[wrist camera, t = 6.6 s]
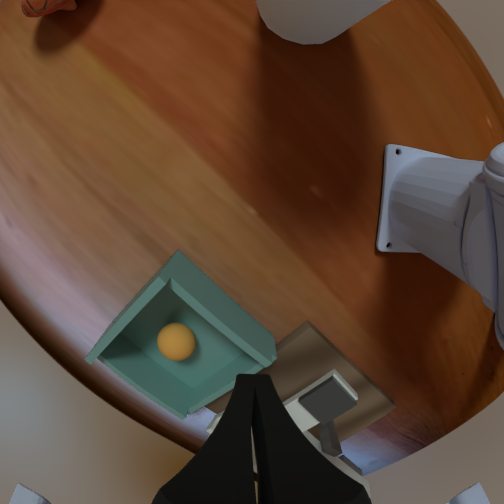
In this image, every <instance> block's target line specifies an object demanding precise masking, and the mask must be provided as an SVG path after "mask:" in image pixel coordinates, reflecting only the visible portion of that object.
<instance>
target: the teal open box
mask: <svg viewBox="0 0 504 504" xmlns="http://www.w3.org/2000/svg"><path fill="white" fill-rule="evenodd" d="M170 323H181V324H184V325H186V326H187V327H189V328H190V329H191V330H192V332H193V333H194V336H195V339H196V346H195V349H194V351H193V353H192V354H191V356H189V357H188V358H187V359H185V360H181V361H173V360H170V359H168V358H166V357H165V356H164V355H163V354H162V353H161V352H160V350H159V348H158V344H157V338H158V334H159V332H160V330H161V329H162V328H163V327H164V326H166V325H167V324H170ZM96 358H98V359H99V360H100V361H101V362H102V363H103V364H105V365H106V366H107V367H108V368H110V369H111V370H112V371H113V372H115V373H116V374H117V375H118V376H120V377H121V378H122V379H123V380H125V381H126V382H127V383H129V384H130V385H131V386H133V387H134V388H135V389H137V390H138V391H140V392H141V393H142V394H144V395H145V396H147V397H148V398H150V399H151V400H152V401H154V402H155V403H157V404H158V405H160V406H161V407H163V408H164V409H166V410H168V411H169V412H171V413H172V414H174V415H175V416H177V417H179V418H180V419H184V418H186V416H187V414H189V415H190V414H191V413H193V412H195V411H197V410H198V409H200V408H202V407H203V406H205V405H207V404H208V403H210V402H212V401H213V400H215V399H217V398H218V397H220V396H222V395H223V394H225V393H226V392H228V391H230V390H231V389H233V388H234V385H235V381H236V375H238V374H256V373H257V372H259V371H260V370H262V369H263V368H264V367H268V366H269V365H271V364H272V362H273V361H275V360H276V359H277V355H276V348H275V340H274V335H273V334H271V333H270V332H269V331H268V330H267V329H266V328H264V327H263V326H262V325H261V324H260V323H259V322H258V321H256V320H255V319H254V318H253V317H252V316H251V315H250V314H248V313H247V312H246V311H245V310H244V309H243V308H242V307H241V306H239V305H238V304H237V303H236V302H235V301H234V300H233V299H232V298H230V297H229V296H228V295H227V294H226V293H225V292H224V291H223V290H222V289H221V288H219V287H218V286H217V285H216V284H215V283H214V282H213V281H212V280H211V279H210V278H209V277H208V276H206V275H205V274H204V273H203V272H202V271H201V270H200V269H199V268H198V267H197V266H196V265H195V264H194V263H193V262H191V261H190V260H189V259H188V258H187V257H186V256H185V255H184V254H183V253H182V252H181V251H180V250H179V249H178V250H177V251H176V252H175V253H174V254H173V256H172V257H171V258H170V259H169V260H168V261H167V262H166V263H165V264H164V265H163V266H162V267H161V268H160V269H159V270H158V271H157V273H156V274H155V275H154V276H153V277H152V278H151V279H150V280H149V281H148V282H147V283H146V284H145V286H144V287H143V288H142V289H141V290H140V291H139V292H138V293H137V294H136V295H135V297H134V298H133V299H132V300H131V301H130V302H129V303H128V304H127V306H126V307H125V308H124V309H123V310H122V311H121V312H120V313H119V315H118V316H117V317H116V318H115V319H114V320H113V321H112V323H111V324H110V325H109V326H108V328H107V329H106V330H105V332H104V333H103V334H102V336H101V337H100V338H99V340H98V341H97V343H96V344H95V345H94V347H93V348H92V350H91V351H90V352H89V354H88V355H87V357H86V358H85V360H86V361H87V362H88V363H89V364H92V362H93V361H94V360H95V359H96Z"/></svg>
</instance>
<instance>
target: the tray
mask: <svg viewBox="0 0 504 504" xmlns="http://www.w3.org/2000/svg"><path fill="white" fill-rule="evenodd" d="M357 399H358V395H357V393H356V392H355V391H354V389H353V388H352V387H351V386H350V385H349V384H348V383H347V382H346V381H345V380H344V378H343V377H342V376H341V375H340V374H339V373H338V372H337V371H336V370H335V369H333V370H331V371H330V372H329V373H327V374H326V375H324V376H323V377H321V378H320V379H318V380H317V381H315V382H314V383H312V384H311V385H309V386H308V387H306V388H305V389H303V390H302V391H300V392H299V393H297V394H295V395H294V396H292V397H291V398H289V399H287V400H286V401H284V402H282V403H283V404H284V406H285V408H286V410H287V411H288V413H289V415H290V416H291V418H292V419H293V421H294V422H295V423H296V425H297V426H298V428H299V429H300V430H301V432H302V433H303V434H304V435H305V437H306V438H307V439H308V440H309V441H310V442H311V443H312V445H313V446H314V447H315V448H316V449H317V450H318V451H319V452H320V453H321V454H322V455H324V456H325V457H326V458H327V459H328V460H329V461H330V462H331V463H332V464H334V465H335V466H336V467H337V468H339V469H340V470H341V471H343V472H344V473H345V474H347V475H348V476H350V477H351V478H352V479H354V480H356V481H357V482H359V483H360V484H362V485H363V486H364V487H365V489H366V491H367V493H368V495H369V497H371V496H370V486H369V482H368V481H367V480H366V479H364V478H363V477H362V470H361V469H360V468H359V467H357V466H356V465H355V464H354V463H353V462H351V461H350V460H349V459H348V458H347V457H345V456H344V455H342V456H340V457H337V456H336V457H333V456H331V455H328V454H326V453H324V451H323V446H322V443H321V442H320V441H318V440H317V439H316V438H315V437H314V436H313V435H312V434H311V433H309V432H308V431H307V430H308V429H310V428H311V427H313V426H315V425H317V424H319V423H321V424H322V425H325V424H327V423H328V422H330V421H332V420H333V419H335V418H337V417H338V416H340V415H342V414H343V413H345V412H346V411H348V410H350V409H351V408H353V407H354V406H356V405H357V403H356V400H357ZM224 411H225V410H224ZM224 411H222V412H221V413H219V414H217V415H215V416H214V418H213V420H212V421H211V423H210V425H209V426H208V428H207V430H206V431H207V432H208V433H209V434H210V435H211V433H212V432H213V430H214V429H215V427H216V425H217V424H218V422H219V420H220V418H221V416H222V414H223V413H224ZM251 435H252V426H251ZM252 454H253V469H254V472H256V473H257V465H256V457H255V450H254V442H253V435H252Z"/></svg>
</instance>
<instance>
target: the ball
mask: <svg viewBox="0 0 504 504" xmlns="http://www.w3.org/2000/svg"><path fill="white" fill-rule="evenodd" d="M157 344H158V348H159V350H160V352H161V353H162V354H163V355H164V356H165V357H166V358H168V359H170V360H173V361H181V360H185V359H187V358H188V357H189V356H191V354H192V353H193V351H194V349H195V346H196V339H195V336H194V333H193V332H192V330H191V329H190V328H189V327H187V326H186V325H184V324H181V323H170V324H167V325H166V326H164V327H163V328H162V329H161V330H160V332H159V334H158V338H157Z"/></svg>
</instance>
